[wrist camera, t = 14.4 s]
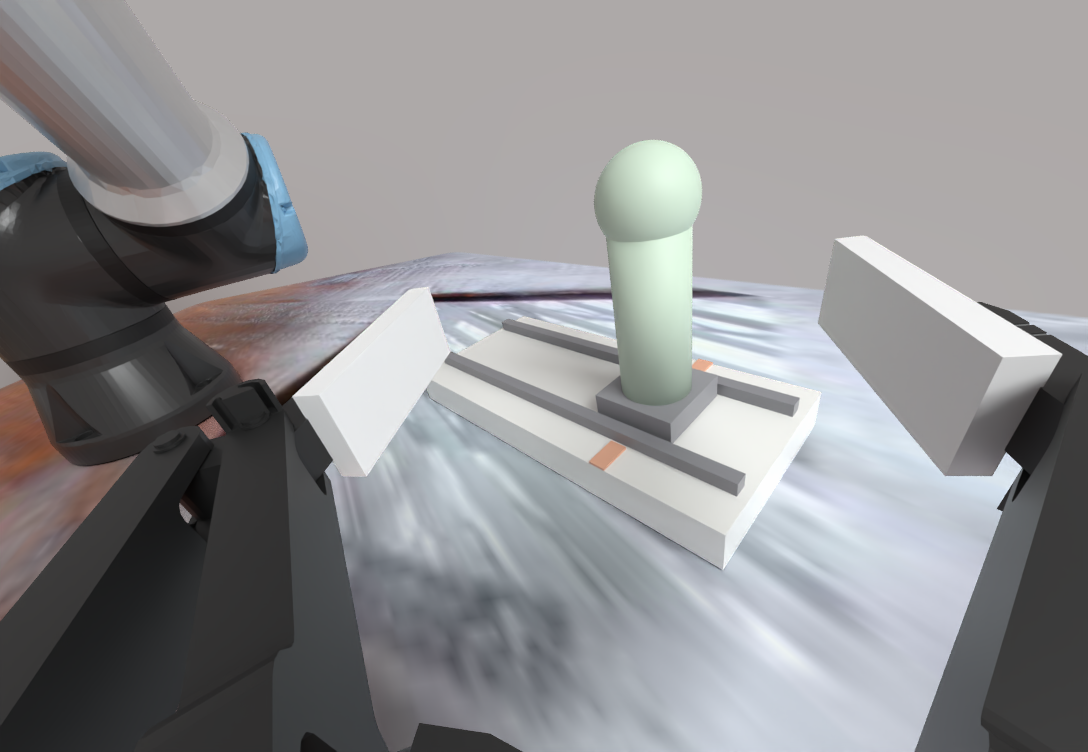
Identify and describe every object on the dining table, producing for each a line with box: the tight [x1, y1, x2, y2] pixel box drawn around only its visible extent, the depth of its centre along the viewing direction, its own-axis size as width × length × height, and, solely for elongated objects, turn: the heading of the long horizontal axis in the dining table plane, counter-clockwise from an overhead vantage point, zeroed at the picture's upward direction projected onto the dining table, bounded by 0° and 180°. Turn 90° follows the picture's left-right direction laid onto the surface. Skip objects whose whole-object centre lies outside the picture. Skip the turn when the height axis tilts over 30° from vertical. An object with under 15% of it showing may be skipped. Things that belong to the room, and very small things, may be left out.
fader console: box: [426, 316, 822, 570], centre depth 30 cm, size 26×12×3 cm, turn 45°
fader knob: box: [594, 140, 718, 443], centre depth 22 cm, size 5×5×14 cm
